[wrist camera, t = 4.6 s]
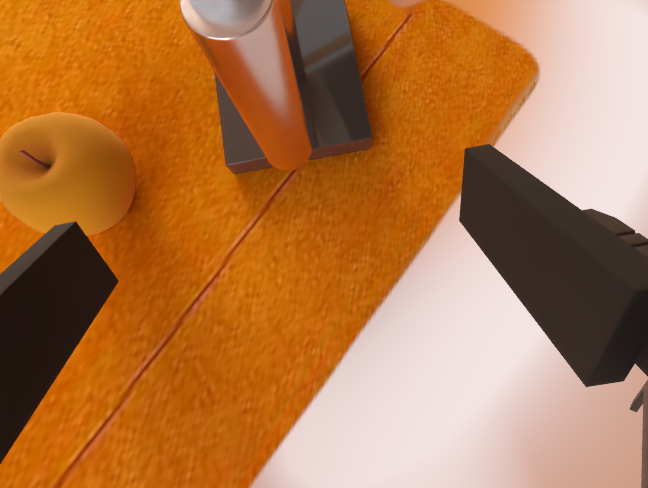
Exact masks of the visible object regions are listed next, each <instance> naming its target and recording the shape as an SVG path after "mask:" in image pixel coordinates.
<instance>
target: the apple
mask: <svg viewBox="0 0 648 488" xmlns="http://www.w3.org/2000/svg"><path fill="white" fill-rule="evenodd" d="M135 186H136V169H135V164H134V160H133V157H132V156H131V154H130V152H129V150H128V148H127V146H126V145H125V144H124V143H123V142H122V140H121V139H120V138H119V137H118V136H117V135H116V134H115V133H114V132H112V131H111V130H109V129H108V128H106V127H105V126H104V125H102V124H101V123H99V122H98V121H96V120H95V119H92V118H88V117H85V116H82V115H78V114H72V113H64V112H54V113H49V114H44V115H39V116H34V117H29V118H27V119H25V120H23V121H21V122H19V123H17V124H15V125H14V126H12V127H10V128H9V130H8V131H7V132H6V133H5V134H4V135H3V137H2V138H1V140H0V200H1V201H2V203H3V204H4V205H5V207H6V208H7V210H8V211H9V212H11V213H12V214H13V215H14V216H15V217H17V218H18V219H19V220H20V221H22V222H23V223H25V224H27V225H28V226H30V227H32V228H33V229H35V230H37V231H38V232H41V233H44V234H46V233H47V232H48V231H49V230H50V229H51V228H52V227H53V226H54V225H59V224H65V223H70V222H75V221H76V222H77V223H78V225H79V226H80V228H81V229H82V230H83V232H84V233H85V235H86V236H87V235H92V234H97V233H100V232H102V231H104V230H107V229H109V228H110V227H112V226H114V225H115V224H116V223H118V222H119V221H120V220H121V219H122V218H123V217H124V215H125V214H126V213H127V211H128V210H129V209H130V206H131V203H132V200H133V197H134V194H135Z"/></svg>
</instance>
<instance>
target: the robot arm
mask: <svg viewBox="0 0 648 488" xmlns="http://www.w3.org/2000/svg"><path fill="white" fill-rule="evenodd" d="M459 221H460V222H461V223H462V225H463V226H464V227H465V229H466V230H467V231H468V233H469V234H470V235H471V237H472V238H473V239H474V240H475V242H476V243H477V244H478V246H479V247H480V248H481V250H482V251H483V252H484V254H485V255H486V256H487V258H488V259H489V260H490V262H491V263H492V264H493V265H494V267H495V268H496V269H497V271H498V272H499V273H500V275H501V276H502V277H503V279H504V280H505V281H506V282H507V284H508V285H509V286H510V288H511V289H512V290H513V292H514V293H515V294H516V296H517V297H518V298H519V300H520V301H521V302H522V304H523V305H524V306H525V307H526V309H527V310H528V311H529V313H530V314H531V315H532V317H533V318H534V319H535V321H536V322H537V323H538V325H539V326H540V327H541V328H542V330H543V331H544V332H545V334H546V335H547V336H548V338H549V339H550V340H551V342H552V343H553V344H554V346H555V347H556V348H557V350H558V351H559V352H560V353H561V355H562V356H563V357H564V359H565V360H566V361H567V363H568V364H569V365H570V366H571V368H572V369H573V371H574V372H575V373H576V374H577V376H578V377H579V378H580V380H581V381H582V382H583V384H584V385H585V386H586V387H589V386H595V385H602V384H608V383H614V382H621V381H624V380H625V378H626V377H627V375H628V373H629V372H630V370H631V369H632V367H633V365H634V364H636V365H637V366H638V367H639V368H640V369H641V370H642V371H643V372H644V373H645V374H646V375H647V376H648V239H647V238H645V237H644V236H642V235H641V234H639V233H637V234H636V233H635V230H633V229H632V228H630V227H629V226H627V225H626V224H624V223H623V222H621V221H620V220H618V219H617V218H615V217H612V216H609V215H606V214H604V213H601V212H599V211H596V210H593V209H588V210H581V209H579V208H578V207H576V206H575V205H573V204H572V203H571V202H569V201H568V200H567V199H565V198H564V197H562V196H561V195H560V194H558V193H557V192H555V191H554V190H553V189H551V188H550V187H548V186H547V185H545V184H544V183H543V182H541V181H540V180H539V179H537V178H536V177H534V176H533V175H532V174H530V173H529V172H527V171H526V170H525V169H523V168H522V167H520V166H519V165H518V164H516V163H515V162H513V161H512V160H510V159H509V158H508V157H506V156H505V155H504V154H502V153H501V152H499V151H498V150H497V149H495V148H494V147H492V146H491V145H490V144H487V145H482V146H476V147H471V148H466V149H465V156H464V168H463V181H462V193H461V206H460V218H459ZM117 283H118V279H117V278H116V277H115V275H114V274H113V272H112V271H111V270H110V268H109V267H108V265H107V264H106V263H105V261H104V260H103V258H102V257H101V256H100V254H99V253H98V251H97V250H96V249H95V247H94V246H93V244H92V243H91V242H90V240H89V239H88V237H87V236H86V235H85V233H84V232H83V230H82V229H81V228H80V226H79V225H78V223H77V222H76V221H75V222H70V223H65V224H59V225H54V226H53V227H52V228H51V229H50V230H49V231H48V232H47V233H46V234H44V235H43V236H42V237H41V238H40V239H39V240H38V241H37V242H36V243H35V244H33V245H32V246H31V247H30V248H29V249H28V250H27V251H26V252H25V253H23V254H22V255H21V256H20V257H19V258H18V259H17V260H16V261H15V262H14V263H12V264H11V265H10V266H9V267H8V268H7V269H6V270H5V271H4V272H2V273H1V274H0V464H1V462H2V461H3V459H4V458H5V456H6V454H7V453H8V451H9V450H10V448H11V447H12V445H13V444H14V442H15V441H16V439H17V438H18V436H19V434H20V433H21V431H22V430H23V428H24V427H25V425H26V424H27V422H28V421H29V419H30V417H31V416H32V414H33V413H34V411H35V410H36V408H37V407H38V405H39V404H40V402H41V400H42V399H43V397H44V396H45V394H46V393H47V391H48V390H49V388H50V387H51V385H52V383H53V382H54V380H55V379H56V377H57V376H58V374H59V373H60V371H61V370H62V368H63V366H64V365H65V363H66V362H67V360H68V359H69V357H70V356H71V354H72V353H73V351H74V349H75V348H76V346H77V345H78V343H79V342H80V340H81V339H82V337H83V336H84V334H85V332H86V331H87V329H88V328H89V326H90V325H91V323H92V322H93V320H94V319H95V317H96V315H97V314H98V312H99V311H100V309H101V308H102V306H103V305H104V303H105V302H106V300H107V298H108V297H109V295H110V294H111V292H112V291H113V289H114V288H115V286H116V285H117ZM642 404H643V441H642V442H643V443H642V487H641V488H648V380H647V382H646V383H645V384H644V386H643V387H642V389H641V390H640V392H639V393H638V394H637V396H636V397H635V399H634V400H633V402H632V404H631V407H630V410H633V411H635V412H637V411H638V409H639V408H640V407H641V405H642Z"/></svg>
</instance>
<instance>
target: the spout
mask: <svg viewBox="0 0 648 488" xmlns="http://www.w3.org/2000/svg"><path fill="white" fill-rule="evenodd" d="M180 9H181V14H182V16H183V19H184V21H185V22H186V24H187V26H188V28H189V29H190V31H191V33H192V34H193V36H194V38H195V39H196V41H197V43H198V44H199V46H200V48H201V49H202V51H203V53H204V54H205V56H206V58H207V60H208V61H209V63H210V65H211V66H212V68H213V70H214V71H215V73H216V75H217V76H218V78H219V80H220V81H221V83H222V85H223V86H224V88H225V90H226V92H227V93H228V95H229V97H230V98H231V100H232V102H233V103H234V105H235V107H236V108H237V110H238V112H239V113H240V115H241V117H242V118H243V120H244V122H245V123H246V125H247V127H248V129H249V130H250V132H251V134H252V135H253V137H254V139H255V140H256V142H257V144H258V145H259V147H260V149H261V150H262V152H263V154H264V155H265V157H266V159H267V160H268V162H269V163H270V164H271V165H272V166H273V167H275V168H277V169H279V170H283V171H291V170H295V169H298V168H300V167H301V166H303V165H304V164H305V163H306V162H307V161H308V159H309V158H310V155H311V153H312V141H311V137H310V133H309V128H308V124H307V120H306V116H305V112H304V107H303V103H302V99H301V95H300V90H299V86H298V83H299V82H300V81H301V79H302V77H303V75H304V64H303V59H302V53H301V48H300V43H299V38H298V33H297V28H296V22H295V17H294V12H293V7H292V2H291V0H180Z"/></svg>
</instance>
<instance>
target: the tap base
mask: <svg viewBox="0 0 648 488" xmlns="http://www.w3.org/2000/svg"><path fill="white" fill-rule="evenodd" d="M291 2H292V7H293V12H294V17H295V22H296V28H297V33H298V38H299V43H300V48H301V53H302V59H303V64H304V75H303V77H302V79H301V81H300V82H299V83H298V86H299V90H300V95H301V99H302V103H303V107H304V112H305V116H306V120H307V124H308V128H309V133H310V137H311V141H312V153H311V155H310V158H309V159H308V160H312V159H317V158H323V157H328V156H333V155H339V154H344V153H350V152H355V151H360V150H366V149H370V148H371V144H372V138H373V137H372V132H371V127H370V122H369V117H368V112H367V107H366V103H365V98H364V93H363V88H362V83H361V78H360V73H359V68H358V63H357V58H356V53H355V48H354V43H353V38H352V33H351V28H350V23H349V18H348V13H347V8H346V4H345V0H291ZM214 72H215V71H214ZM215 80H216V88H217V97H218V105H219V113H220V121H221V129H222V138H223V146H224V154H225V162H226V166H227V167H228V168H229V169H230V170H231V171H232V172H233V173H234V174H237V173H242V172H247V171H253V170H258V169H264V168H269V167H273V166H272V165H271V164H270V163H269V162H268V160H267V159H266V157H265V155H264V154H263V152H262V150H261V149H260V147H259V145H258V144H257V142H256V140H255V139H254V137H253V135H252V134H251V132H250V130H249V129H248V127H247V125H246V123H245V122H244V120H243V118H242V117H241V115H240V113H239V112H238V110H237V108H236V107H235V105H234V103H233V102H232V100H231V98H230V97H229V95H228V93H227V92H226V90H225V88H224V86H223V85H222V83H221V81H220V80H219V78H218V76H217V75H216V73H215Z"/></svg>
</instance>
